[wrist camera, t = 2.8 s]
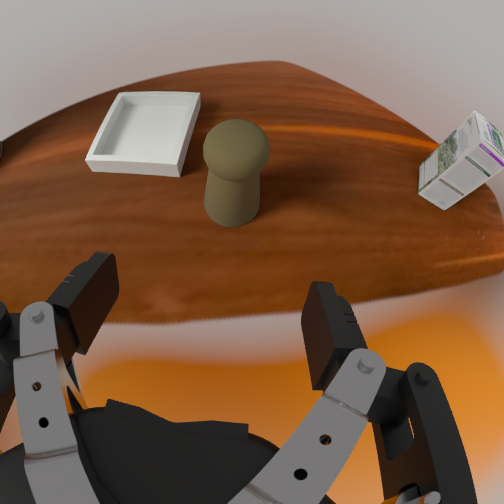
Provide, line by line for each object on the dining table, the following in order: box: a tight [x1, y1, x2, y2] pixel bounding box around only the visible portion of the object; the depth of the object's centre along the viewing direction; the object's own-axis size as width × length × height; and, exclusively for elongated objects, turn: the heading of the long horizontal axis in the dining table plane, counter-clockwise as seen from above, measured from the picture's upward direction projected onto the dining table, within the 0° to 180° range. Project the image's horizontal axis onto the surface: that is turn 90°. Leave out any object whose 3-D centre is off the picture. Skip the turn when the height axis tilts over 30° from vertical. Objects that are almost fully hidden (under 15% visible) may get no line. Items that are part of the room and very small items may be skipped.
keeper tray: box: [85, 91, 201, 177], centre depth 30 cm, size 12×12×3 cm
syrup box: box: [418, 110, 504, 210], centre depth 27 cm, size 6×6×14 cm
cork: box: [203, 119, 270, 227], centre depth 24 cm, size 6×6×11 cm
